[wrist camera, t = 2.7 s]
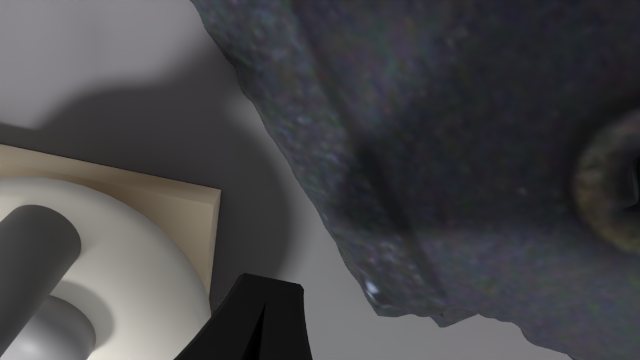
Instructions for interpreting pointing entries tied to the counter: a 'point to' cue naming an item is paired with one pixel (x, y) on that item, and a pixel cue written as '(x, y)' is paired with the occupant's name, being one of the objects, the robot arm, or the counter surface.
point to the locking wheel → (90, 278)
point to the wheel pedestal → (136, 198)
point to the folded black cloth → (463, 152)
